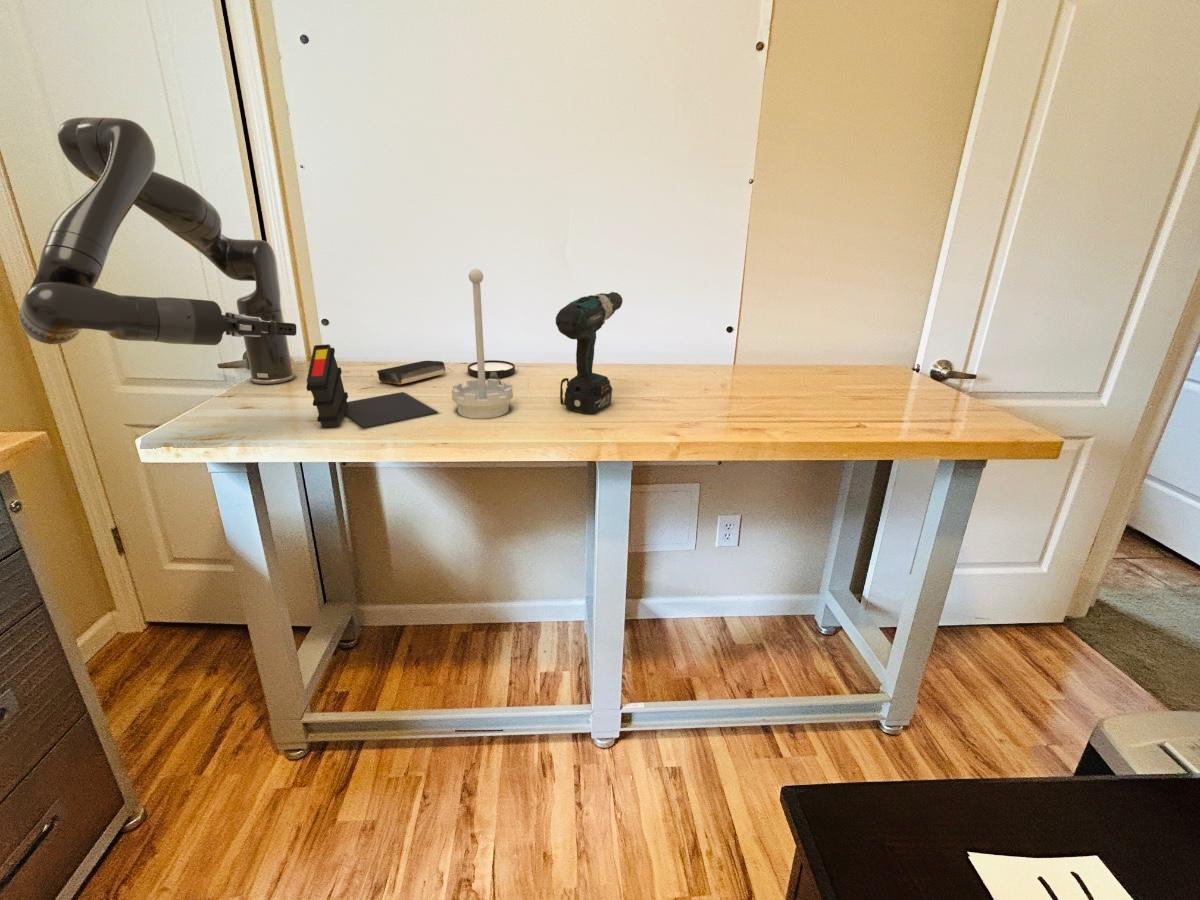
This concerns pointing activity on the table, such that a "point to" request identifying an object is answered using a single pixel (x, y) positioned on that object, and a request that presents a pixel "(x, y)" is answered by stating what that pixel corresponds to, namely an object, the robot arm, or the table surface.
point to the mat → (386, 409)
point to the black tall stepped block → (327, 386)
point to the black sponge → (411, 372)
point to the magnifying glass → (493, 369)
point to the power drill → (586, 350)
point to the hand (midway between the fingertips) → (284, 327)
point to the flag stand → (481, 374)
